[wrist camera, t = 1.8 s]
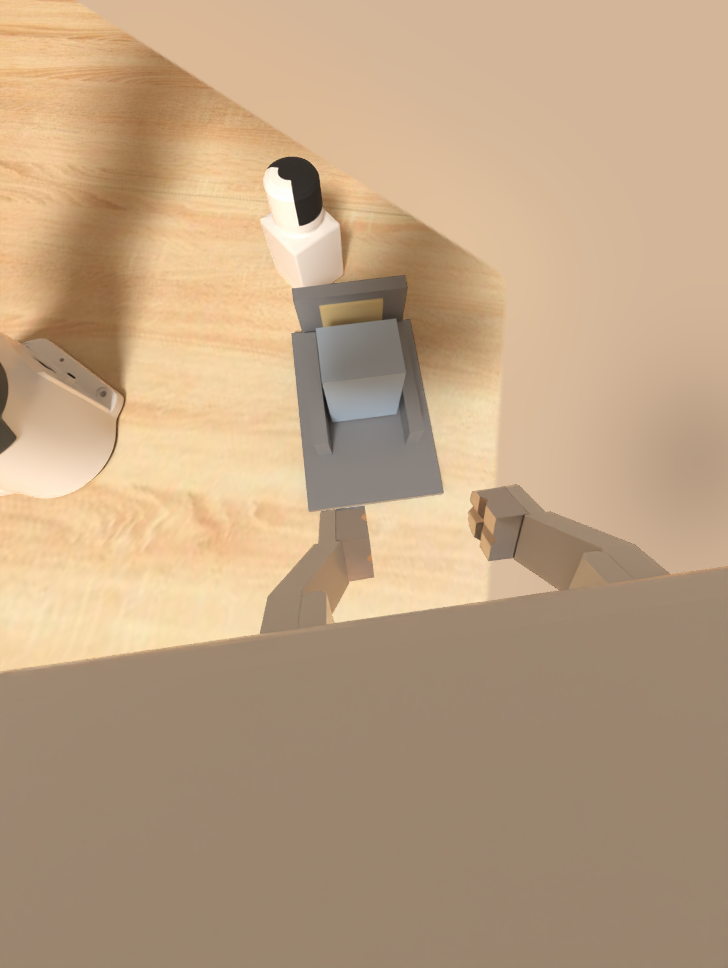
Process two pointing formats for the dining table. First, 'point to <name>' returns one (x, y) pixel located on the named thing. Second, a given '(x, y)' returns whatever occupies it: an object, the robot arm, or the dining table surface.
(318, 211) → the medicine bottle
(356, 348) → the key block
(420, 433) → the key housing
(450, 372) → the dining table surface
